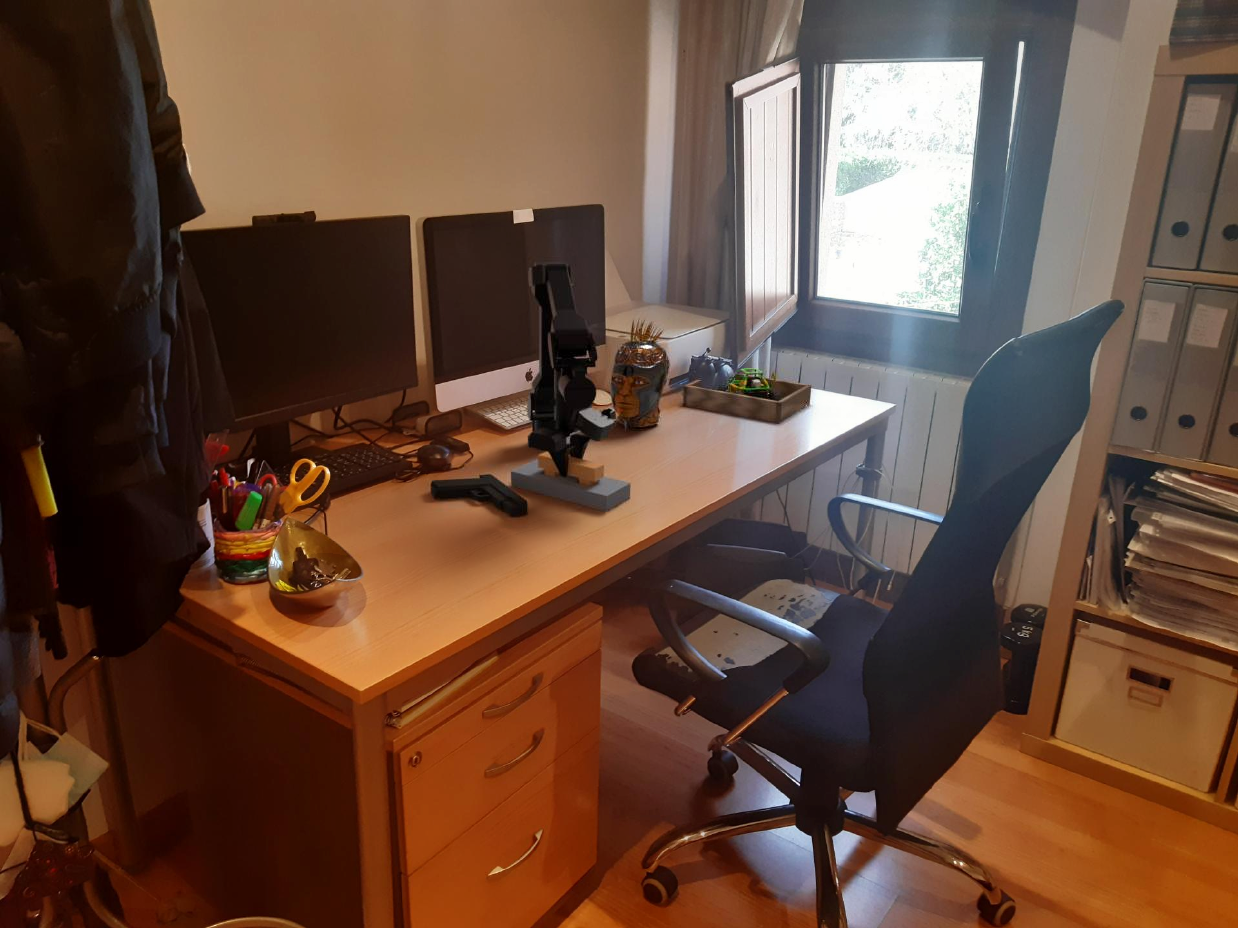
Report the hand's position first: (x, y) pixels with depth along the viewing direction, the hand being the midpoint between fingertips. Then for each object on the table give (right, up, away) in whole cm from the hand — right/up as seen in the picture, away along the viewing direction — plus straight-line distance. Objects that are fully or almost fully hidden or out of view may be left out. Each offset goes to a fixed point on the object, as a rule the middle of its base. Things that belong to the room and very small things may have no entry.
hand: (569, 473), depth 172 cm
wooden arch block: (0, -4, +1) cm, 4 cm away
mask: (+14, +11, +43) cm, 47 cm away
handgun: (-17, -6, -5) cm, 19 cm away
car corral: (+42, +17, +60) cm, 75 cm away
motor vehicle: (+42, +17, +60) cm, 75 cm away
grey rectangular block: (0, -4, +1) cm, 4 cm away
